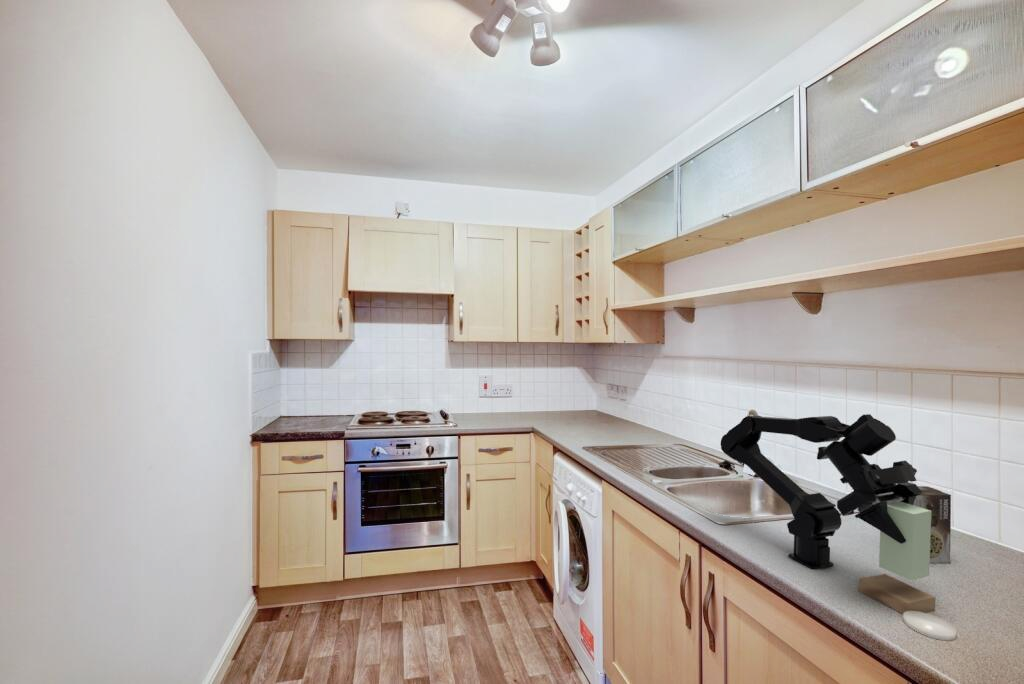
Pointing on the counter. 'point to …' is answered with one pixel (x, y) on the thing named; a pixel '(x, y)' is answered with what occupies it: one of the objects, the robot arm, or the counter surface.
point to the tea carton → (907, 542)
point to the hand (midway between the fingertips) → (913, 540)
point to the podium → (896, 594)
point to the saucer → (929, 625)
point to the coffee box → (937, 522)
